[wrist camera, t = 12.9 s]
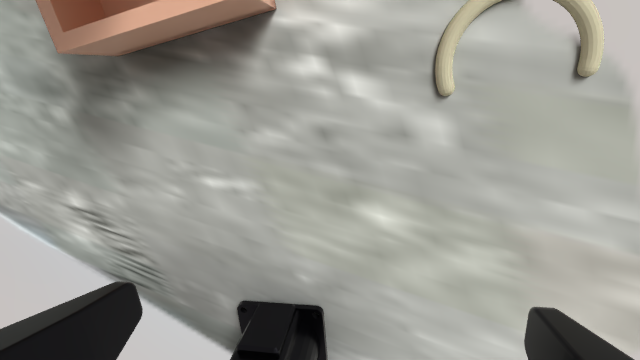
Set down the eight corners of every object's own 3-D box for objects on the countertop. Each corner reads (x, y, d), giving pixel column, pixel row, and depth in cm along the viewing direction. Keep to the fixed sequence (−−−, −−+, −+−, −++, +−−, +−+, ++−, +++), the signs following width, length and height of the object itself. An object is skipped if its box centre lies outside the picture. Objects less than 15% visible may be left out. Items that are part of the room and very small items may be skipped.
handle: (618, -47, 14) (604, 75, 15) (605, -41, 15) (594, 74, 16) (432, -9, 15) (437, 98, 17) (430, -5, 16) (435, 96, 18)
